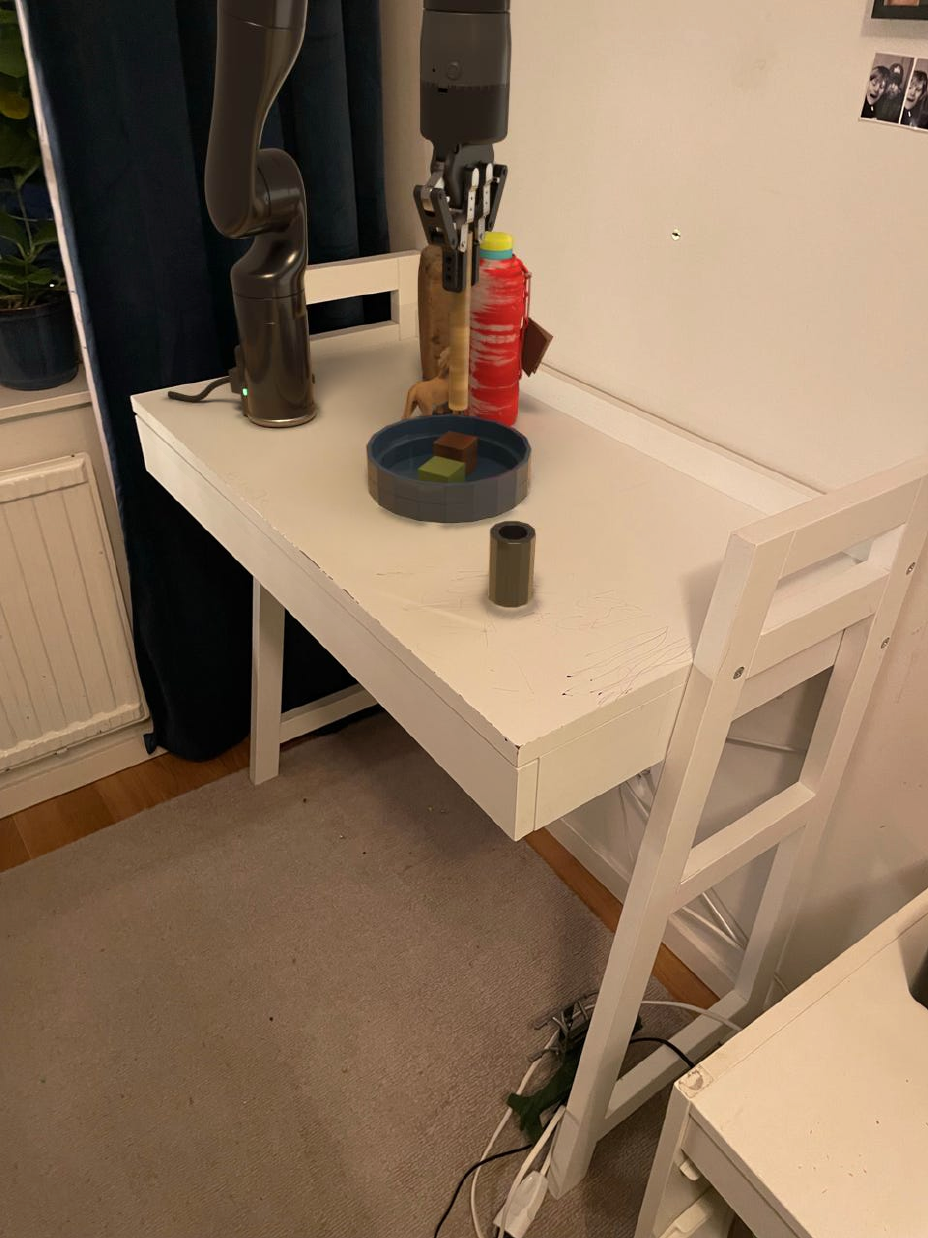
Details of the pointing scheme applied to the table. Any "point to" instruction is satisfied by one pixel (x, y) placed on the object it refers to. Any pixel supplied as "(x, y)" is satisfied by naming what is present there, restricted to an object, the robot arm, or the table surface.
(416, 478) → the bowl
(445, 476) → the olive block
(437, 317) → the block
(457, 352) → the stirring stick
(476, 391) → the water bottle
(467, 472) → the walnut block
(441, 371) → the lion figurine
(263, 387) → the robot arm
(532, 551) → the holder
